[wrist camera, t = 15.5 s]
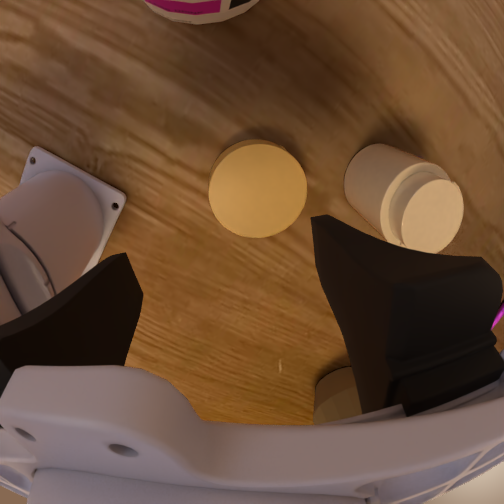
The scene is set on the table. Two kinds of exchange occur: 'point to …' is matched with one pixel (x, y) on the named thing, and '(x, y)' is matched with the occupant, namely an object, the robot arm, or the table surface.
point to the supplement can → (199, 9)
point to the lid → (256, 188)
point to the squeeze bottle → (336, 397)
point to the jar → (404, 198)
